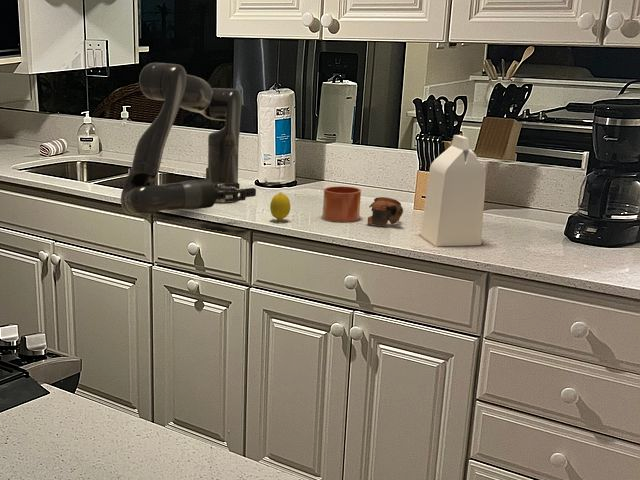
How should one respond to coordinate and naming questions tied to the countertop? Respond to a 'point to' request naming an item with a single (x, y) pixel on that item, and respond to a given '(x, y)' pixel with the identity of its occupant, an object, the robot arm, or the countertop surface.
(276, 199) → the lemon
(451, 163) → the milk
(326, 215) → the crock
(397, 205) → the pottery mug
